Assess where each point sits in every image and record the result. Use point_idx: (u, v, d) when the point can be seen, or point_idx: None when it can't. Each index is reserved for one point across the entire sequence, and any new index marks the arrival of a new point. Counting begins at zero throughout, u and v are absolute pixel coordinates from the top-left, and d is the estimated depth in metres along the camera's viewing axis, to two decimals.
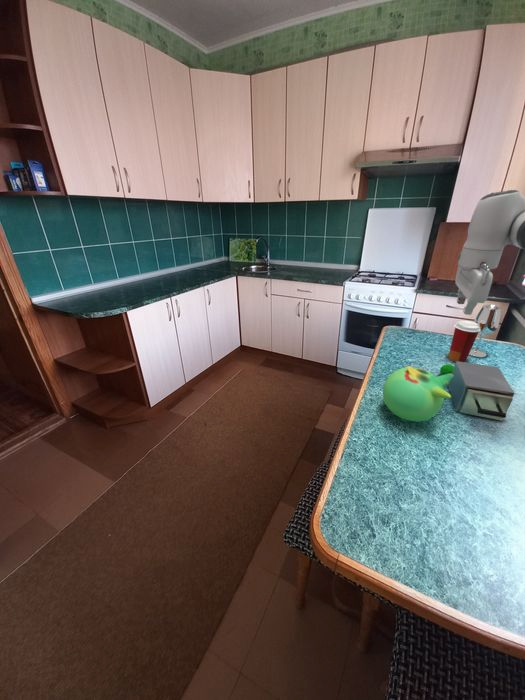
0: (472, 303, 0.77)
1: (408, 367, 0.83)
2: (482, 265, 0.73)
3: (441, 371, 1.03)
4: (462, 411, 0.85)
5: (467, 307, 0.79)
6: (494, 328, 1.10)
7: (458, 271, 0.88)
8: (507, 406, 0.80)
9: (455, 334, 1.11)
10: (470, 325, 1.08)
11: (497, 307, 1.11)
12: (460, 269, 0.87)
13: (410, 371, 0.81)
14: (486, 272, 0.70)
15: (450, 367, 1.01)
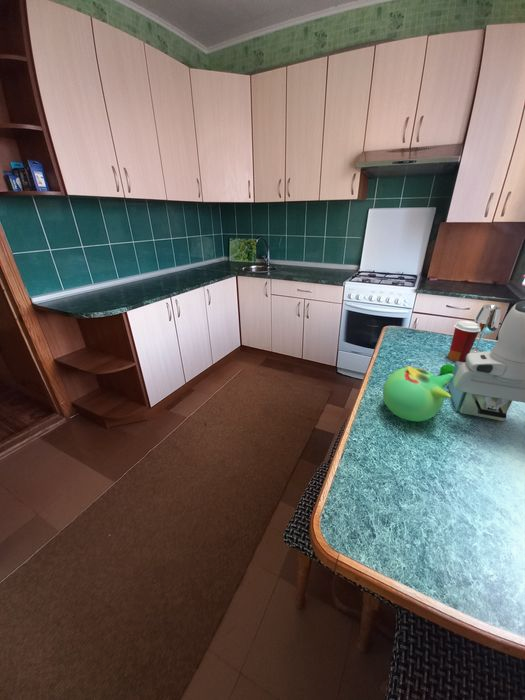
0: None
1: (408, 367, 0.83)
2: None
3: (441, 371, 1.03)
4: (462, 411, 0.85)
5: None
6: (494, 328, 1.10)
7: (466, 379, 0.76)
8: (507, 406, 0.80)
9: (455, 334, 1.11)
10: (470, 325, 1.08)
11: (497, 307, 1.11)
12: (470, 377, 0.75)
13: (410, 371, 0.81)
14: None
15: (450, 367, 1.01)
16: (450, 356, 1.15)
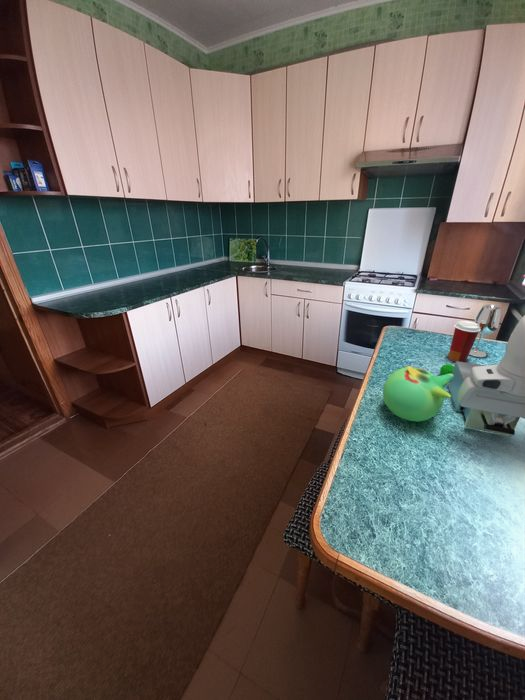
0: None
1: (408, 367, 0.83)
2: None
3: (441, 371, 1.03)
4: (467, 426, 0.80)
5: None
6: (494, 328, 1.10)
7: (471, 395, 0.71)
8: (516, 421, 0.75)
9: (455, 334, 1.11)
10: (470, 325, 1.08)
11: (497, 307, 1.11)
12: (476, 392, 0.70)
13: (410, 371, 0.81)
14: None
15: (450, 367, 1.01)
16: (450, 356, 1.15)
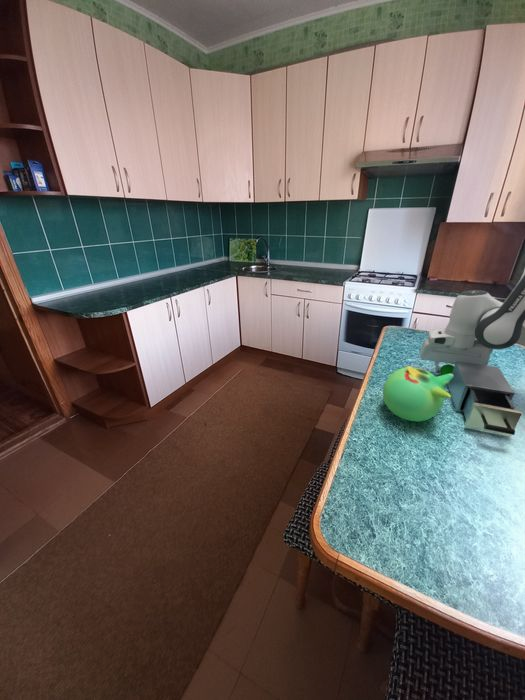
0: None
1: (408, 367, 0.83)
2: None
3: (441, 371, 1.03)
4: (467, 426, 0.80)
5: None
6: None
7: (427, 350, 1.00)
8: (516, 421, 0.75)
9: None
10: None
11: None
12: (431, 348, 1.00)
13: (410, 371, 0.81)
14: None
15: (450, 367, 1.01)
16: None
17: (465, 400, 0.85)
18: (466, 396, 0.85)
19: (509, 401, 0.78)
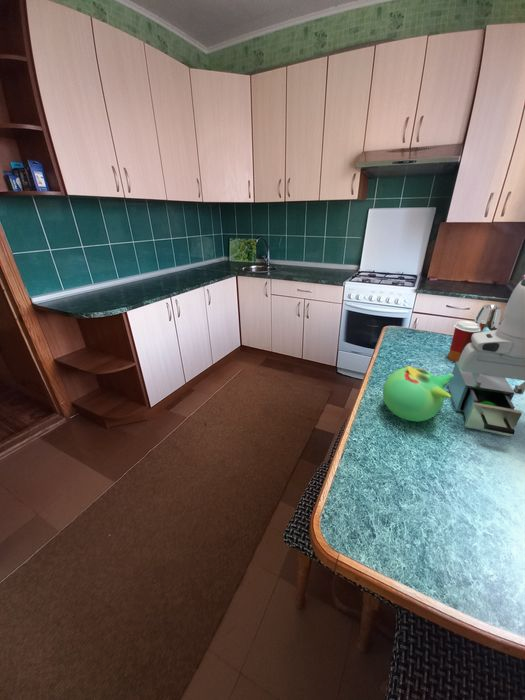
0: None
1: (408, 367, 0.83)
2: None
3: None
4: (467, 425, 0.80)
5: None
6: (494, 328, 1.10)
7: (471, 359, 0.75)
8: (516, 421, 0.75)
9: (455, 334, 1.11)
10: (470, 325, 1.08)
11: (497, 307, 1.11)
12: (476, 357, 0.74)
13: (410, 371, 0.81)
14: None
15: None
16: (450, 356, 1.15)
17: (465, 400, 0.85)
18: (466, 396, 0.85)
19: (509, 401, 0.78)
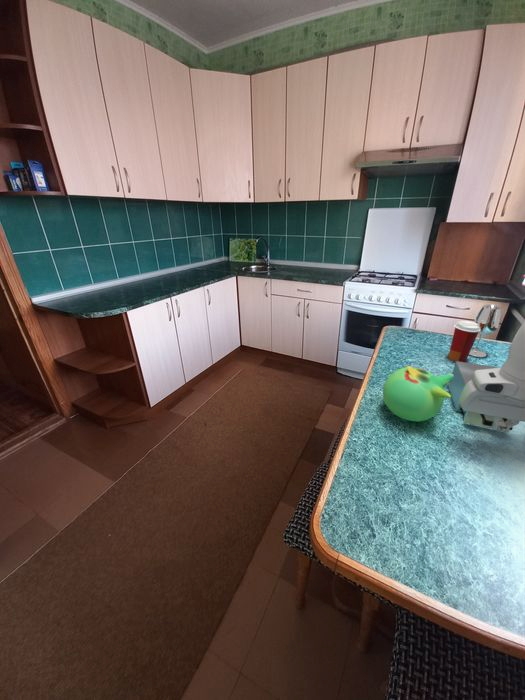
0: None
1: (408, 367, 0.83)
2: None
3: None
4: (466, 422, 0.81)
5: None
6: (494, 328, 1.10)
7: (473, 399, 0.70)
8: None
9: (455, 334, 1.11)
10: (470, 325, 1.08)
11: (497, 307, 1.11)
12: (478, 396, 0.69)
13: (410, 371, 0.81)
14: None
15: None
16: (450, 356, 1.15)
17: None
18: None
19: None
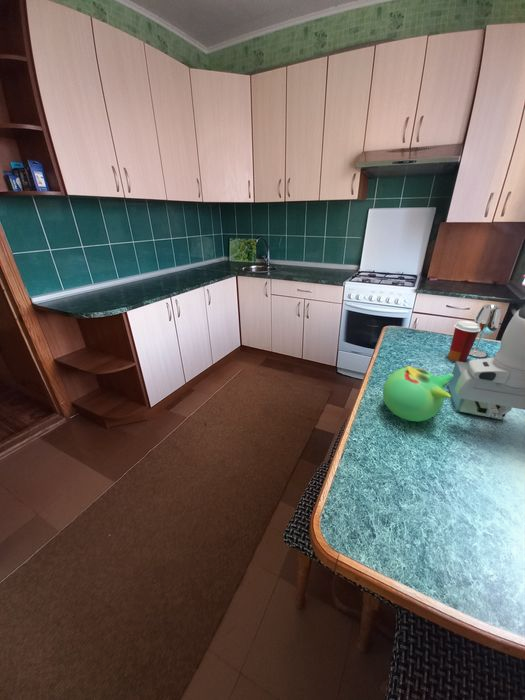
0: None
1: (408, 367, 0.83)
2: None
3: None
4: (462, 410, 0.86)
5: None
6: (494, 328, 1.10)
7: (468, 387, 0.74)
8: None
9: (455, 334, 1.11)
10: (470, 325, 1.08)
11: (497, 307, 1.11)
12: (472, 385, 0.74)
13: (410, 371, 0.81)
14: None
15: None
16: (450, 356, 1.15)
17: None
18: None
19: None
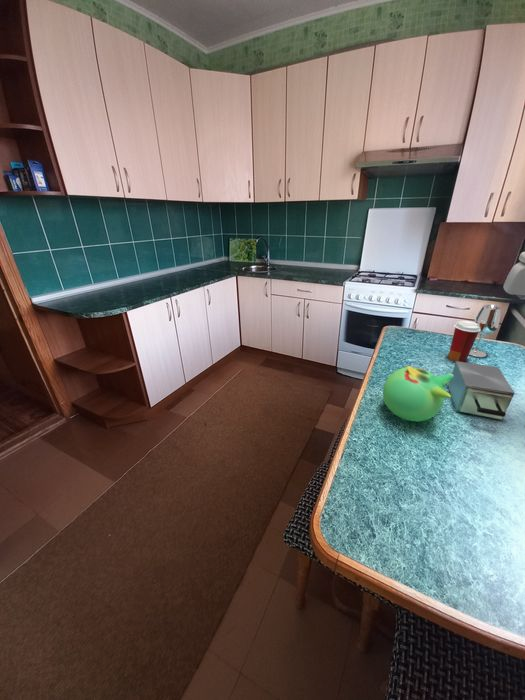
0: None
1: (408, 367, 0.83)
2: None
3: None
4: (462, 410, 0.86)
5: None
6: (494, 328, 1.10)
7: (521, 278, 0.70)
8: (506, 405, 0.80)
9: (455, 334, 1.11)
10: (470, 325, 1.08)
11: (497, 307, 1.11)
12: None
13: (410, 371, 0.81)
14: None
15: None
16: (450, 356, 1.15)
17: None
18: None
19: None
